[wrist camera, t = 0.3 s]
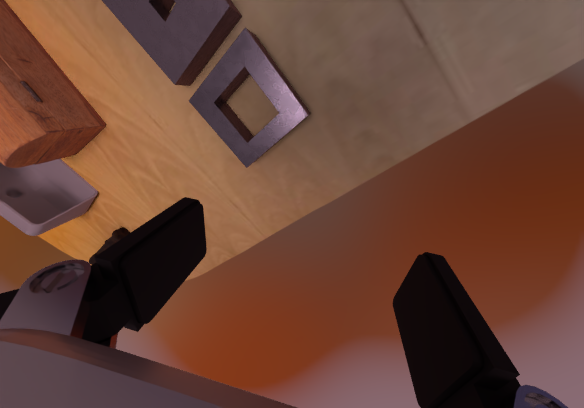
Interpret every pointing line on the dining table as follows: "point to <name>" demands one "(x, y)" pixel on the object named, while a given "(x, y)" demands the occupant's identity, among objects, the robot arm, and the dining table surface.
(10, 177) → the tank
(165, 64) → the narrow-bore block
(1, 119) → the wooden box
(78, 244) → the dining table surface
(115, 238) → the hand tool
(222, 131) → the wide-bore block
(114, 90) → the dining table surface
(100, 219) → the dining table surface
